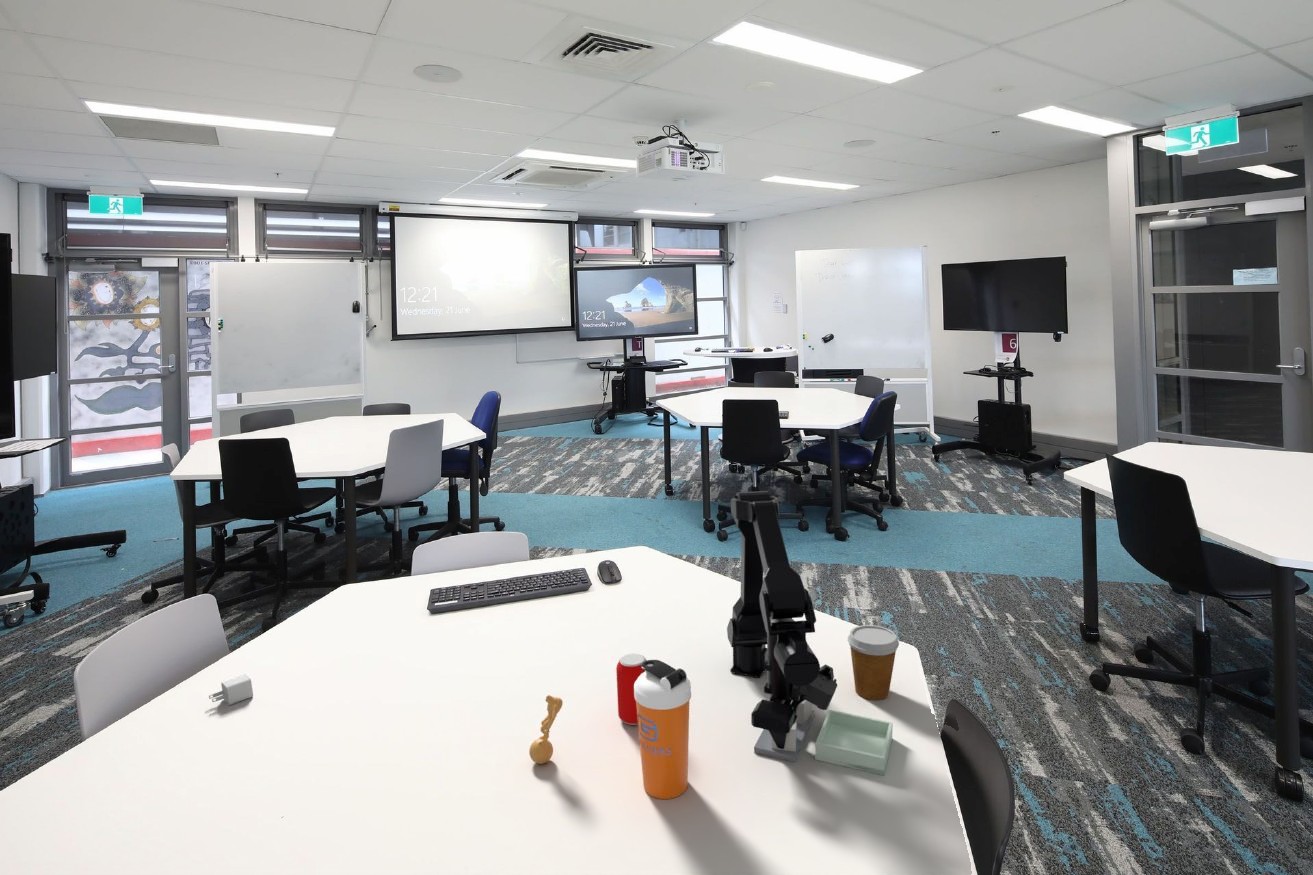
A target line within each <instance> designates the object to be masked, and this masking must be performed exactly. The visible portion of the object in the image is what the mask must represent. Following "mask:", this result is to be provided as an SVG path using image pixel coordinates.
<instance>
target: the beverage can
mask: <svg viewBox="0 0 1313 875" xmlns="http://www.w3.org/2000/svg"><path fill="white" fill-rule="evenodd" d="M645 661H647V659H646V657H645V656H644V655H643V654H640V653H628V654H624V655H623V656H622V657H621V658H620V659H619V660H618V663H617V664H616V667H615V668H616V670H615V672H616V689H617V694H616V695H617V714H618V715H617V716H618V717H619V719H620V721H622V722H623V723H624V724H627V725H631V726H632V725H633V726H638V717H637V706H636V700H635V698H634V683H635V682H636V680H637V679H638V677H639V676H640V675H641V674H642V673H644V672H645V670H643V669H642V663H643V662H645Z"/></svg>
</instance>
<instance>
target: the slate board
mask: <svg viewBox="0 0 1313 875" xmlns="http://www.w3.org/2000/svg"><path fill="white" fill-rule="evenodd" d="M814 718H815V710H813V709H812V714H811V716H810V717H809V718H808V720H807V721H806V722H805V724H804V725H803V724H800V723H797V744H796V752H795V751H787V750H779V749H772V736H771V734H770V732H769V731H768V730H766V729H763V730H762V731H761V733H760V735H759V737H758V739H757V740H756V743H755V744H754V746H753V752H754V753H755V754H760V755H763V756H767V757H770V758H771V757H772V758H775V759H776V758H777V759H780V760H784V761H788V762H793V763H795V762H796V760H797V757H798V756H799V753H800V750H801V748H802V746H803V743H804V742H805V739H806V737H807V734H808V732H809V729H810V727H811V725H812V723H813V720H814Z"/></svg>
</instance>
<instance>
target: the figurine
mask: <svg viewBox="0 0 1313 875" xmlns="http://www.w3.org/2000/svg"><path fill="white" fill-rule="evenodd" d="M545 698H546V699H545V702H546V703H547V708H546V711H547V713H548V714H547V716H545V717H544V718H543V719H542V721H541V723H540V724H541V727H540V732H541V733H542V734H543V735H542V736H540V737H539V738H537V739H535V740H534V741H533V742H532V743H531V745H530V746H529V750H528V751H529V754H528V755H529V757H530V759H531V760H532V762H533V763H535V764H540V765H542V764H546V763H547V762H549V761H550V759H551V758H552V756H553V753H554V746H553V743H552V742H551V741H550V740H549V737H550V730H551V728H552V726H553V724H554V721H555V720H556V717H557V715H558V714H559V713H560V710H561V709H562V707H563V700H562V698H561V697H558V696H553V695H550V694H549V695H548V694H547V695H546V697H545Z"/></svg>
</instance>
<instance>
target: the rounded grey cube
mask: <svg viewBox="0 0 1313 875" xmlns="http://www.w3.org/2000/svg"><path fill="white" fill-rule="evenodd" d="M796 744H797V719H796V721H795V723H794V724H793V726H792V728H791V730H790V732H789V733H787V737H786V742H785V747H784V749H780V748H778V747H777V746H776V744H775V742H774V740H773V738H772V749H779V750H787V751H795V752H796Z"/></svg>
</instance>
